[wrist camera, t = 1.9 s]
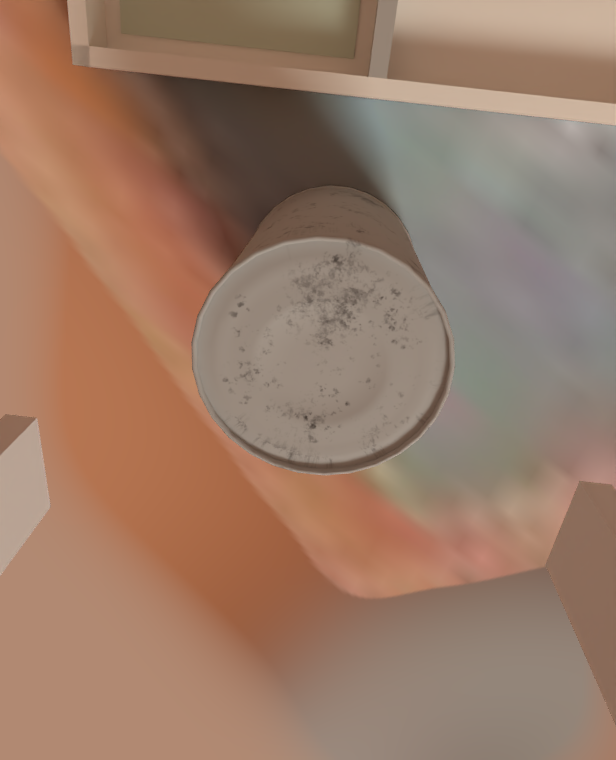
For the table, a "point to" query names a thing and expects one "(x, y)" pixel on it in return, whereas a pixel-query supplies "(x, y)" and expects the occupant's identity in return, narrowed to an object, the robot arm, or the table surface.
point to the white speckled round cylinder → (324, 338)
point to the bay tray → (371, 49)
